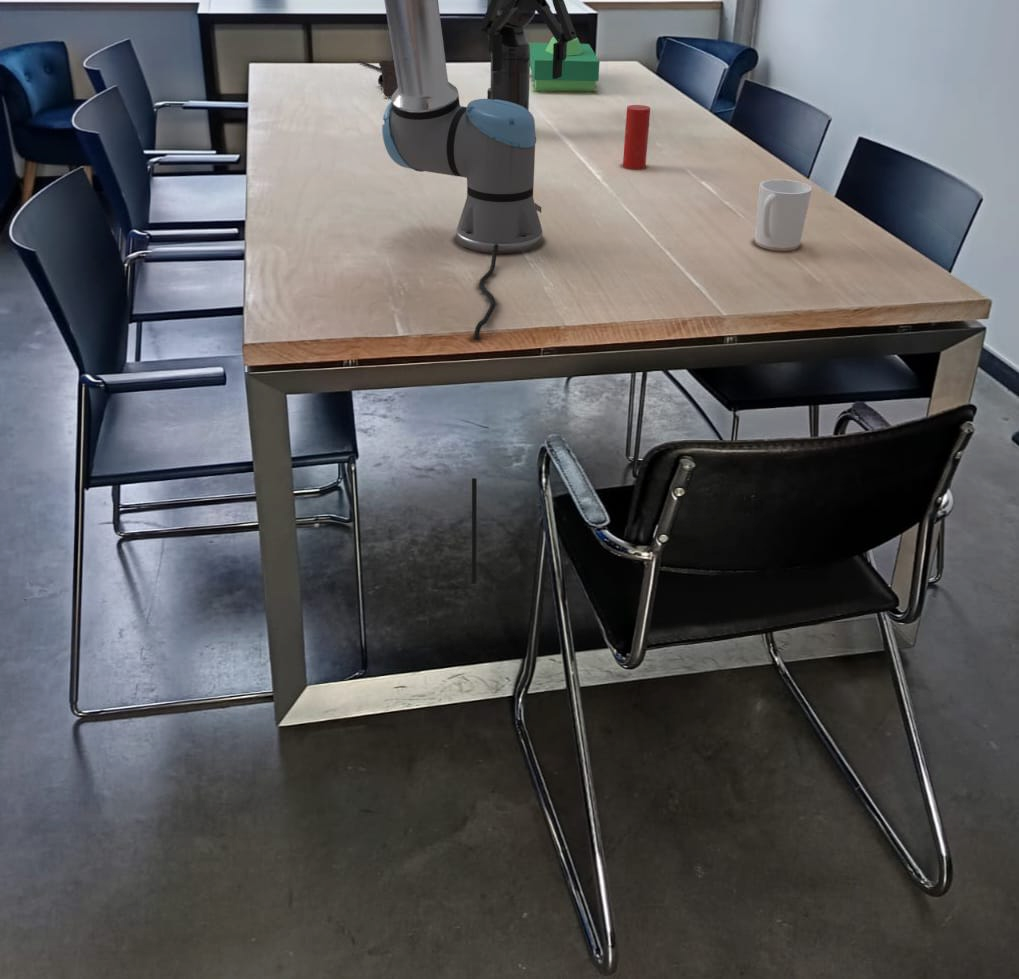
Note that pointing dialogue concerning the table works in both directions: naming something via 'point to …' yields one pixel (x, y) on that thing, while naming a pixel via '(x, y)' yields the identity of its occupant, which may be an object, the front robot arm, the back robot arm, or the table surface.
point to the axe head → (388, 78)
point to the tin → (636, 136)
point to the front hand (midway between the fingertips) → (526, 73)
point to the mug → (781, 214)
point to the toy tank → (564, 67)
